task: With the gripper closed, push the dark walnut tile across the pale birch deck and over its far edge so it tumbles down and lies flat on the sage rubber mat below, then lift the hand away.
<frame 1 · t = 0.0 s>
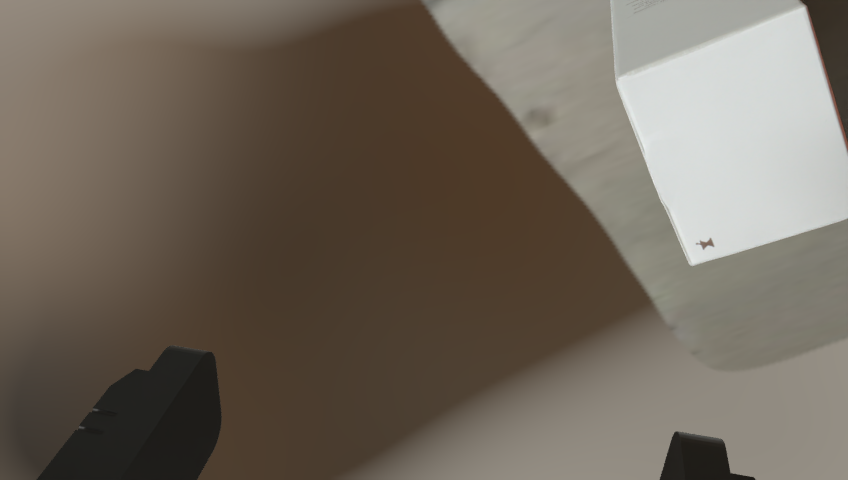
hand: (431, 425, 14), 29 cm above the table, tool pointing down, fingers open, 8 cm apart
small box: (701, 38, 38), on the table
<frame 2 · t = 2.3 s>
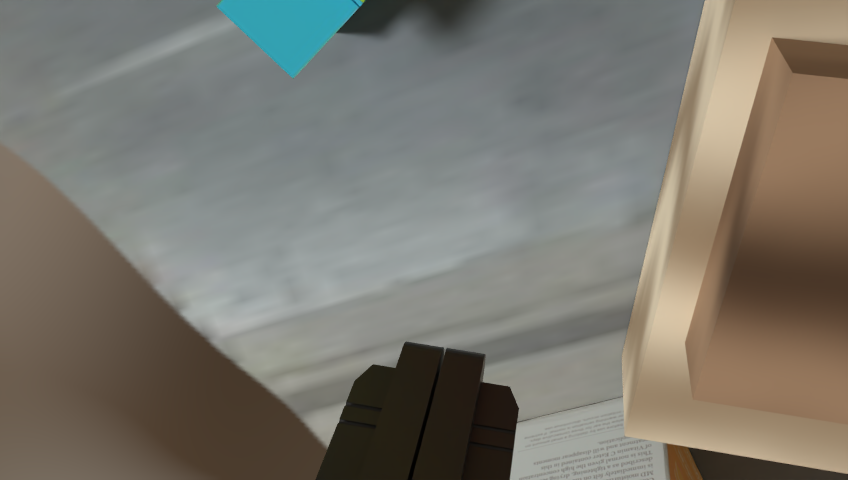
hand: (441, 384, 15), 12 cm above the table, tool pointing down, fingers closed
small box: (620, 471, 32), on the table
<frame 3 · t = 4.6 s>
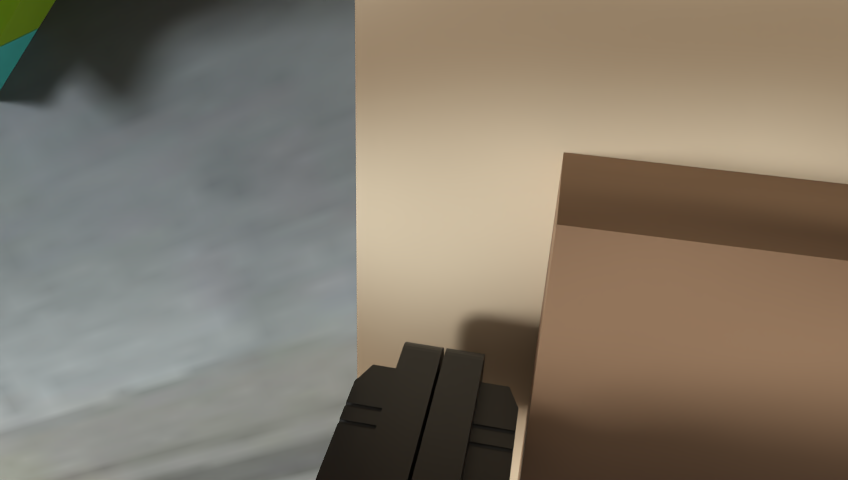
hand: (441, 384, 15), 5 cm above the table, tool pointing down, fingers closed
walnut tile: (701, 436, 14), point 5 cm above the table, touching birch deck, gripper
birch deck: (657, 266, 18), on the table
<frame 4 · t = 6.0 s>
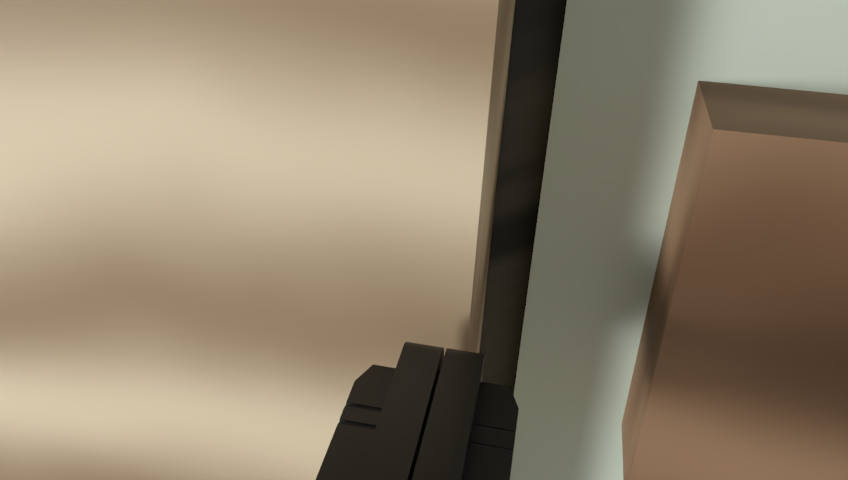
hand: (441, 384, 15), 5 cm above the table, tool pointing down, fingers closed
walnut tile: (808, 326, 16), point 2 cm above the table, tilted 180°, touching sage mat
sage mat: (802, 284, 18), on the table
birch deck: (247, 210, 20), on the table
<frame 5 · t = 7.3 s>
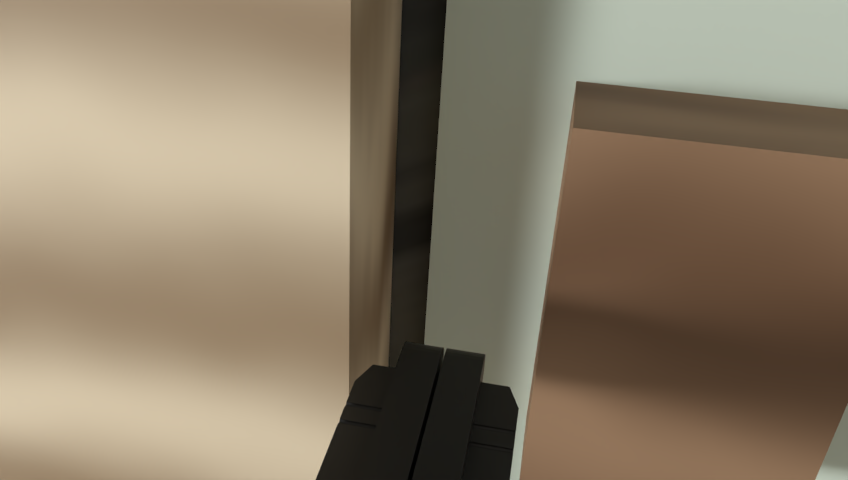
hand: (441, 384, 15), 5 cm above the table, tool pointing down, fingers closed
walnut tile: (689, 322, 17), point 2 cm above the table, tilted 180°, touching sage mat
sage mat: (693, 281, 18), on the table
birch deck: (158, 204, 20), on the table
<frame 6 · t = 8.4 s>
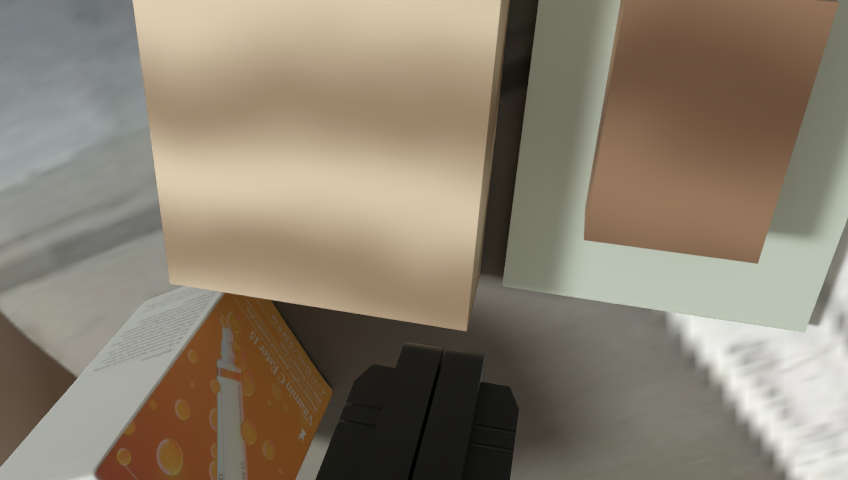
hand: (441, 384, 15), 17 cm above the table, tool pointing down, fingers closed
walnut tile: (694, 120, 27), point 2 cm above the table, tilted 180°, touching sage mat
sage mat: (696, 105, 28), on the table
birch deck: (343, 63, 30), on the table
small box: (243, 341, 39), on the table
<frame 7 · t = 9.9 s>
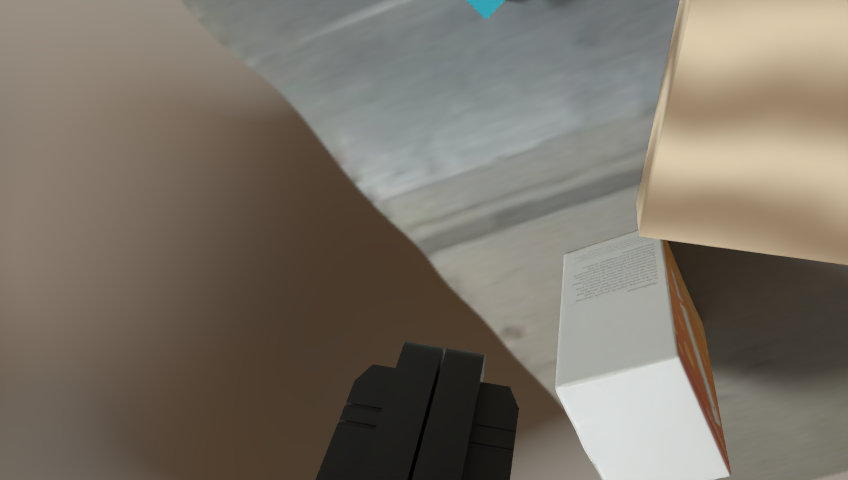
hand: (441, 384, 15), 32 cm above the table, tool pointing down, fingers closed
birch deck: (783, 75, 42), on the table
small box: (634, 286, 50), on the table
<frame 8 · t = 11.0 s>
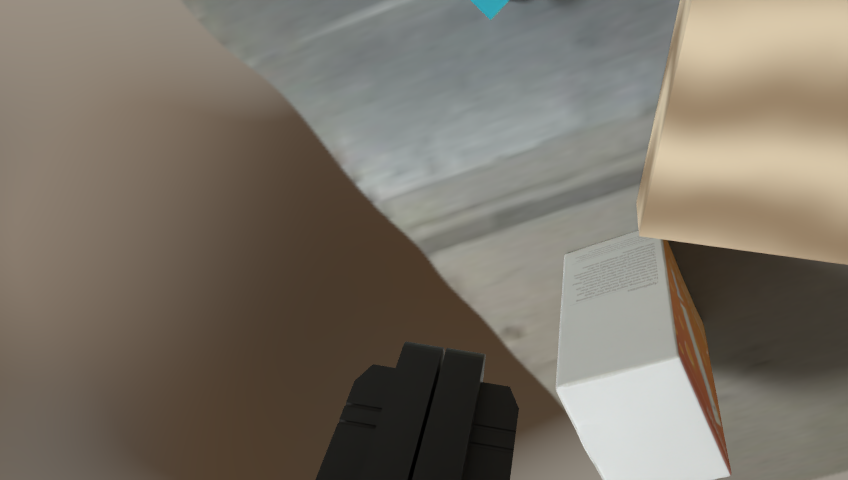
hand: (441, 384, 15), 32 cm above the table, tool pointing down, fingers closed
birch deck: (783, 75, 42), on the table
small box: (634, 286, 50), on the table
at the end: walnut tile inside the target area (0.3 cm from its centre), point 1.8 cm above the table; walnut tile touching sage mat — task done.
